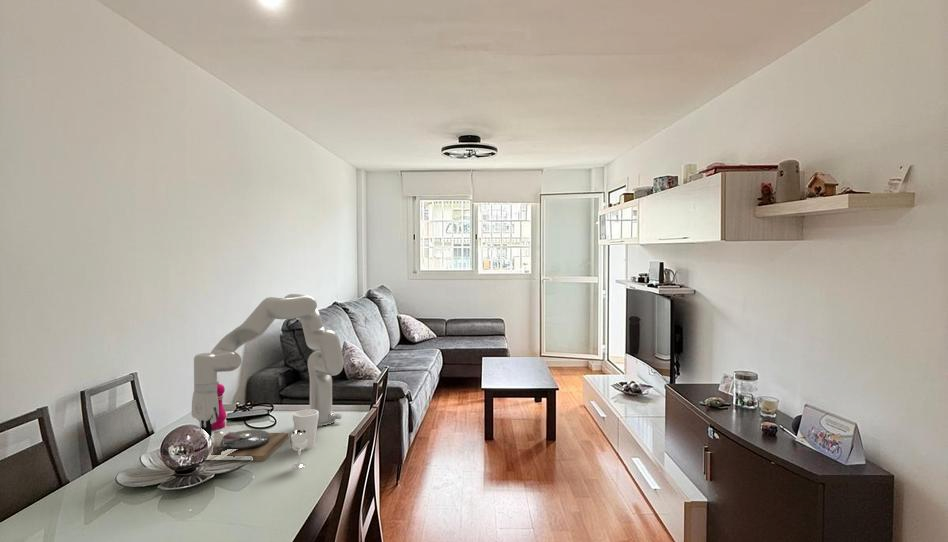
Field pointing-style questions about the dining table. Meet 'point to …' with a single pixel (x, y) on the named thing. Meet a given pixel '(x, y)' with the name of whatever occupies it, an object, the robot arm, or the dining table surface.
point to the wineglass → (299, 445)
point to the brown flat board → (260, 447)
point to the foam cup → (307, 424)
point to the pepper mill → (220, 408)
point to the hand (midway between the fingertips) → (206, 436)
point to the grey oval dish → (239, 440)
